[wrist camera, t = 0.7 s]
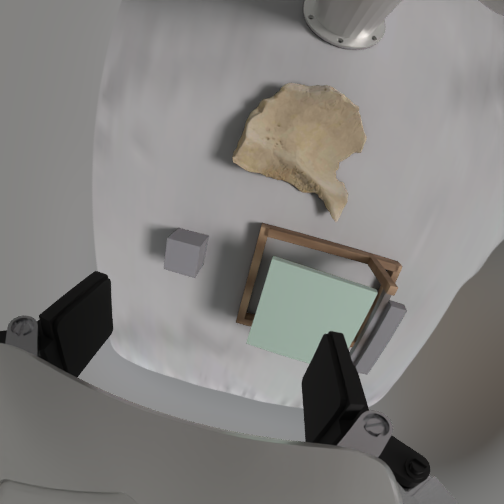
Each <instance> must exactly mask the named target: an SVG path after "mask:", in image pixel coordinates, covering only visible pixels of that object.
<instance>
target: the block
mask: <svg viewBox="0 0 504 504" xmlns="http://www.w3.org/2000/svg"><path fill="white" fill-rule="evenodd" d="M208 238H209V236H208V235H204V234H201V233H197V232H193V231H189V230H185V229H181V228H178V229H177V230H176V231H175V232H173V233H172V234H171V235H170V236H169V237H168V238H167V243H166V252H165V261H164V269H166V270H169V271H172V272H176V273H179V274H183V275H186V276H190V277H193V278H195V277H196V276H197V274H198V272H199V271H200V269H201V268H202V266H203V264H204V259H205V254H206V248H207V243H208Z"/></svg>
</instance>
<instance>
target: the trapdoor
mask: <svg viewBox="0 0 504 504" xmlns="http://www.w3.org/2000/svg"><path fill="white" fill-rule="evenodd" d="M377 294H378V292H377V289H374V288H371V287H368V286H365V285H362V284H359V283H355V282H352V281H349V280H346V279H343V278H340V277H337V276H334V275H331V274H328V273H325V272H322V271H319V270H316V269H312V268H309V267H306V266H303V265H300V264H297V263H294V262H291V261H288V260H285V259H282V258H279V257H275V256H273V258H272V261H271V264H270V268H269V271H268V274H267V278H266V281H265V284H264V288H263V291H262V294H261V298H260V301H259V304H258V307H257V311H256V314H255V317H254V320H253V323H252V327H251V330H250V333H249V336H248V339H247V342H246V344H249V345H252V346H255V347H258V348H261V349H264V350H267V351H270V352H273V353H276V354H280V355H283V356H286V357H289V358H292V359H296V360H299V361H302V362H306V363H309V364H310V362H311V360H312V358H313V356H314V354H315V352H316V350H317V347H318V345H319V343H320V341H321V339H322V337H323V335H324V334H328V332H329V331H334V332H339V333H343V335H344V337H345V340H346V344H347V347H348V348H349V347H350V345H351V343H352V341H353V340H354V338H355V336H356V334H357V332H358V331H359V329H360V327H361V325H362V323H363V321H364V319H365V318H366V316H367V314H368V312H369V310H370V308H371V306H372V304H373V302H374V300H375V298H376V296H377ZM406 312H407V310H406V308H405V306H404V305H403V304H400V303H397V302H394V301H391V300H389V301H388V303H387V305H386V307H385V309H384V311H383V313H382V315H381V316H380V318H379V320H378V322H377V324H376V326H375V327H374V329H373V331H372V333H371V334H370V336H369V338H368V340H367V341H366V343H365V345H364V346H363V348H362V350H361V351H360V353H359V355H358V356H357V358H356V359H355V361H354V363H353V365H355V367H356V369H357V372H358V373H362V374H368V373H369V371H370V370H371V368H372V367H373V365H374V364H375V363H376V361H377V360H378V358H379V356H380V355H381V353H382V352H383V350H384V349H385V347H386V346H387V344H388V342H389V341H390V339H391V338H392V336H393V334H394V333H395V331H396V329H397V327H398V326H399V324H400V322H401V321H402V319H403V317H404V315H405V313H406Z"/></svg>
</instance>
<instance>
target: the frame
mask: <svg viewBox="0 0 504 504" xmlns="http://www.w3.org/2000/svg"><path fill="white" fill-rule="evenodd" d="M267 237H271V238H274V239H278V240H282V241H286V242H289V243H293V244H297V245H301V246H304V247H308V248H312V249H315V250H319V251H323V252H326V253H330V254H333V255H337V256H341V257H344V258H348V259H351V260H355V261H358V262H362V263H365V264H368V266H369V267H370V269H371V270H372V272H373V273H374V275H375V276H376V278H377V279H378V281H379V283H380V284H381V286H380V288H379V290H378V294H377V296H376V298H375V300H374V302H373V304H372V306H371V308H370V310H369V312H368V314H367V316H366V318H365V319H364V321H363V323H362V325H361V327H360V329H359V331H358V332H357V334H356V336H355V338H354V340H353V341H352V343H351V345H350V347H352V349H351V351H350V352H349V353H350V356H351V359H352V362H353V363H354V361H355V359H356V358H357V356H358V355H359V353H360V351H361V350H362V348H363V346H364V345H365V343H366V341H367V340H368V338H369V336H370V334H371V333H372V331H373V329H374V327H375V326H376V324H377V322H378V320H379V318H380V316H381V315H382V313H383V311H384V309H385V307H386V305H387V303H388V301H389V299H390V297H391V295H393V296H394V295H395V293H396V291H397V289H398V287H397V285H396V284H395V282H396V280H397V278H398V276H399V273H400V271H401V269H402V266H401V264H400V263H399V262H398V261H394V260H391V259H388V258H385V257H381V256H378V255H375V254H371V253H368V252H365V251H361V250H358V249H355V248H351V247H348V246H344V245H341V244H338V243H334V242H331V241H327V240H324V239H320V238H316V237H313V236H309V235H306V234H302V233H298V232H295V231H291V230H287V229H284V228H280V227H276V226H272V225H269V224H265V223H262V225H261V229H260V233H259V237H258V241H257V244H256V248H255V252H254V256H253V259H252V263H251V267H250V271H249V274H248V278H247V282H246V286H245V289H244V293H243V297H242V301H241V304H240V308H239V312H238V316H237V320H236V323H240V324H243V325H247V326H251V327H252V323H253V320H254V317H255V314H251V313H247V312H246V311H247V308H248V304H249V301H250V297H251V294H252V290H253V287H254V283H255V279H256V276H257V272H258V269H259V265H260V262H261V258H262V254H263V251H264V247H265V244H266V240H267ZM385 269H386V270H388V271H387V272H386V270H385Z"/></svg>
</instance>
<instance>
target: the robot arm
mask: <svg viewBox="0 0 504 504" xmlns="http://www.w3.org/2000/svg"><path fill="white" fill-rule="evenodd" d="M401 1H402V0H305V2H304V6H303V14H304V18H305V20H306V22H307V24H308V26H309V27H310V28H311V30H312V31H313V32H314V33H315V34H317V35H318V36H319V37H320V38H322V39H323V40H325V41H326V42H328V43H330V44H332V45H335V46H338V47H341V48H345V49H352V50H359V49H366V48H370V47H372V46H373V45H375V44H376V43H378V42H379V41H380V40H381V38H382V37H383V35H384V33H385V28H386V24H385V18H386V17H387V16H388V15H389V14H390V13H391V12H392V11H393V10H394V9H395V8H396V6H397V5H398V4H399V3H400V2H401ZM479 1H480V2H481V3H482V4H484V5H485V6H486V7H488V8H489V9H491V10H492V11H494V12H496V13H497V14H500V15H503V16H504V0H479ZM372 39H373V40H372ZM338 41H339V42H341V43H339V42H338ZM39 318H40V320H38V321H36V320H35V319H34V318H32V317H30V316H19V317H16V318H14V319H13V320H12V321H11V322H10V323H9V325H8V328H7V331H0V504H459V503H458V502H457V500H456V499H455V498H454V497H453V496H452V494H451V493H450V492H449V491H448V490H447V489H446V488H445V487H444V486H443V485H442V484H441V482H440V481H439V480H438V479H437V478H436V477H435V476H433V477H431V476H430V475H429V474H430V465H429V462H428V461H427V460H426V458H424V457H423V456H422V455H420V454H419V453H417V452H416V451H414V450H413V449H411V448H410V447H408V446H406V445H405V444H404V443H402V442H401V441H399V440H397V439H396V438H395V437H393V436H392V432H393V425H392V422H391V420H390V419H389V418H388V417H387V416H386V415H385V414H383V413H381V412H379V411H375V410H369V409H368V405H367V402H366V398H365V395H364V392H363V388H362V385H361V382H360V378H359V375H358V372H357V369H356V367H355V365H353V362H352V359H351V356H350V353H349V350H348V347H347V344H346V340H345V337H344V335H343V333H339V332H334V331H329V332H328V334H324V335H323V337H322V339H321V341H320V343H319V345H318V347H317V350H316V352H315V354H314V356H313V358H312V360H311V362H310V364H309V366H308V368H307V371H306V373H305V375H304V377H303V379H302V394H303V408H304V422H305V439H306V442H300V441H290V440H282V439H275V438H268V437H261V436H255V435H249V434H244V433H238V432H233V431H228V430H224V429H219V428H215V427H210V426H207V425H203V424H199V423H195V422H191V421H187V420H184V419H180V418H177V417H174V416H171V415H168V414H164V413H161V412H158V411H155V410H152V409H150V408H147V407H144V406H141V405H139V404H136V403H133V402H131V401H128V400H126V399H123V398H121V397H118V396H116V395H113V394H111V393H109V392H106V391H104V390H102V389H100V388H98V387H95V386H93V385H91V384H89V383H87V382H85V381H83V380H81V379H79V378H77V377H78V376H79V375H80V373H81V372H82V371H83V369H84V368H85V367H86V365H87V364H88V363H89V362H90V360H91V359H92V358H93V356H94V355H95V354H96V352H97V351H98V350H99V349H100V348H101V346H102V345H103V344H104V343H105V341H106V340H107V339H108V338H109V336H110V335H111V334H112V331H113V319H112V303H111V281H110V279H108V276H107V275H106V274H103V273H100V272H97V271H95V272H93V273H92V274H91V275H89V276H88V277H87V278H85V279H84V280H83V281H81V282H80V283H79V284H77V285H76V286H75V287H74V288H72V289H71V290H70V291H68V292H67V293H66V294H65V295H63V296H62V297H61V298H60V299H59V300H57V301H56V302H55V303H54V304H52V305H51V306H50V307H49V308H48V309H46V310H45V311H44V312H43V313H42V314H40V315H39Z"/></svg>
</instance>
